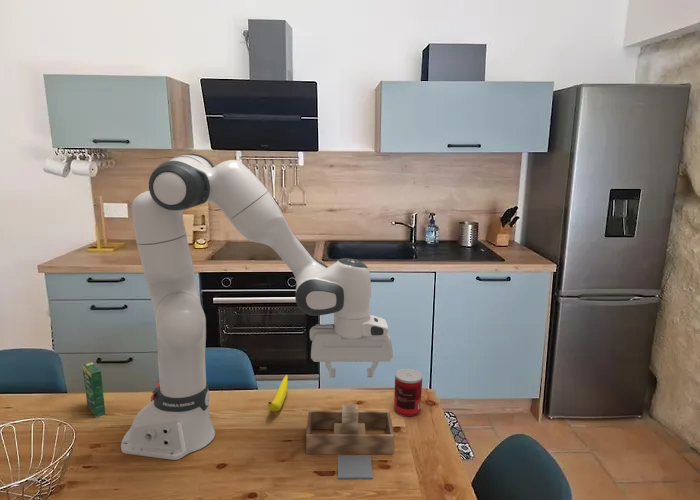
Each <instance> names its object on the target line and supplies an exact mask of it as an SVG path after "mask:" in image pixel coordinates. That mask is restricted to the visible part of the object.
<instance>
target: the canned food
mask: <svg viewBox="0 0 700 500" xmlns="http://www.w3.org/2000/svg"><path fill="white" fill-rule="evenodd" d="M394 375H395V376H394V378H395V379H394V394H393V395H394V396H393V398H394V399H393V407H394V408H393V409H394V410H395V413H397V414H398V415H401V416H403V417H415V416H417V415H418V414H419V413H420V411H421V408H422V407H421V406H422V390H423V389H422V388H423V374H422V373H421V372H420V371H419V370H417V369H415V368H414V369H413V368H401V369H398V370H397V371H396V372H395V374H394Z"/></svg>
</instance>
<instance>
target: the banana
mask: <svg viewBox="0 0 700 500" xmlns="http://www.w3.org/2000/svg"><path fill="white" fill-rule="evenodd" d="M288 382H289V378H288V374H286V375H285V376H284V377H283V379H282V381H281V383H280V384H279V387H278V390H277V392H276V394H275V396H274V398H273V400H272V401H268V404H267V408H268V409H269V411H272V412H274V413H275V412H279V411H280V410H281V409H282V407H283V405H284V402H285V398H286V396H287V392H288V386H289V385H288Z"/></svg>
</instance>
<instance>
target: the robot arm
mask: <svg viewBox="0 0 700 500" xmlns="http://www.w3.org/2000/svg"><path fill="white" fill-rule="evenodd" d="M206 202H210V203H212V204H215V206H217V207H218V208H219V209H220V210H221V211H222V213H223V214H224V216H225V217H226V218H227V219H228V220H229V222H230V223H231V224H232V226H233V227H234V228H235V229H236V230H237V231H238V233H239V234H241V235H242V236H243V237H244V238H245V239H247V240H248V241H249V242H252V243H257V244H258V243H259V244H262V245H265V246H268V247H270V248H271V249H272V250H273V251H275V253H276V254H277V255H278V256H279V257H280V259H281V260H282V261H283V262H284V264H286V266H287V267H288V269H290V271H291V272H292V274H293V275H294V279H295V282H296V287H295V297H294V298H295V303H296V306H297V307H298V308H299V309H300V311H301V312H303V313H304V314H306V315H308V316H314V317H315V316H316V317H318V316H325V315H329V314H333V322H334V323H330V324H329V323H328V324H327V323H326V324H321V323H317V324H315V325H314V326H312V327H311V328H310V329H309V339H310V341H311V342H312V343H311V350H310V359H311V360H312V361H313V362H317V363H321V362H322V363H325V364H324V365H325V368H326V369H327V371H328V372H329V378H336V375H337V374H336V368H334V367H332V363H333V362H334V363H342V362H343V363H344V362H345V363H346V362H347V363H351V362H354V363H357V362H358V363H361V362H365V363H367V362H368V363H369V362H371V363H372V365H371V366H370V368H369V367H367V368H366V369H367V372H366V373H367V374H366V376H367V378H374V372H375V371H376V369H377V368H378V366H379V362H381V363H382V362H384V363H385V362H387V363H389V362H391V360H392V359H394V358H393V357H394V356H393V355H394V354H393V351H394V350H393V343H392V338H391V335H390V332H389V324H388V322H387V321H386V319H385V318H383V317H380V316H376V315H374V314H371V308H370V301H371V300H370V299H371V297H372V296H371V295H372V292H371V291H372V284H371V273H370V269H369V267H368V266H367V264H365V263H364V262H363V261H362V260H359V259H358V260H357V259H354V258H349V257H347V258H339V259H338V260H336V262H334V263H332V264H331V265H328V264H327V265H326V264H325V263H324V262H322V261H319V260H318V259H316V257H315V258H314V256H313V255H311V253H310V252H309V251H308V250H307V248H306V247H305V246H304V245H303V244H302V243H301V241H300V240H299V239H298V237H297V236H296V234H295V233H294V232H293V231H292V229H291V227H290V226H289V224H288V222H287V221H286V218H285V217H284V213H283V212H282V211H281V208H280V206H279V205H278V204H277V202H276V200H275V199H274V198H273V196H272V194H271V193H270V191H268V189H267V188H266V186H265V185H264V184H263V183H262V181H260V179H259V178H258V177H257V176H256V174H254V173H253V172H252V171H251V170H250V168H248V167H247V166H246V165H245V164H243V162H241V161H239V160H236V159H229V160H225V161H222V162H220V163H218V164H217V165H214V164H213V163H212V162H211V160H209V159H208V158H207V157H205V156H203V155H200V154H197V153H189V154H188V153H187V154H184V155H178V156H174V157H173V158H170V159H169V160H168V161H164V162H162V163H160V164H159V165H158V166H157V167H155V169H154V170H153V171H152V172H151V174H150V177H149V179H148V190H146V191H144V192H142V193H140V194H138V195H137V196H136V197H135V198H134V199H133V201H132V206H131V211H132V212H131V213H132V214H131V215H132V225H133V231H134V236H135V242H136V246H137V249H138V254H139V258H140V262H141V267H142V270H143V275H144V278H145V282H146V285H147V288H148V292H149V295H150V296H149V297H150V300H151V304H152V308H153V314H154V318H155V333H156V345H157V346H156V347H157V365H158V366H157V367H158V378H159V381H158V382H157V383H156V385H155V388H154V390H153V391H152V394H151V396H150V402H149V403H148V404H147V405H145V406H144V407H143V408H142V409H140V410H139V411H138V413H137V414H136V415H135V417H134V418H133V420H132V423H131V426H130V428H129V429H128V430H127V432H126V433H125V434H124V435H123V437H122V439H121V442H120V450H121V453H123V454H127V455H133V456H134V455H135V456H141V457H149V458H156V459H157V458H158V459H165V460H171V461H177V460H180V459H181V458H184V457H186V455H188V454H191V453H193V452H196V451H199V450H201V449H203V448H204V447H207V445H209V444H210V443H211V442H212V441H213V440H214V438H215V436H216V430H215V427H214V426H213V423H212V422H213V421H212V418H211V415H210V414H211V413H210V410H209V404H210V390H209V383H208V382H207V374H206V373H207V371H206V341H207V319H206V314H205V312H204V309H203V307H202V304H201V301H200V297H199V292H198V287H197V283H196V282H197V281H196V277H195V270H194V264H193V259H192V255H191V254H192V253H191V251H190V250H191V249H190V245H189V240H188V235H187V232H186V227H185V223H184V211H185V210H189V209H192V208H194V207H197V206H200V205H203V204H206Z"/></svg>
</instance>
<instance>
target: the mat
mask: <svg viewBox="0 0 700 500" xmlns="http://www.w3.org/2000/svg"><path fill="white" fill-rule="evenodd" d="M373 478H374V474H373V466H372V456H371V455H337V479H338V480H373Z"/></svg>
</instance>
